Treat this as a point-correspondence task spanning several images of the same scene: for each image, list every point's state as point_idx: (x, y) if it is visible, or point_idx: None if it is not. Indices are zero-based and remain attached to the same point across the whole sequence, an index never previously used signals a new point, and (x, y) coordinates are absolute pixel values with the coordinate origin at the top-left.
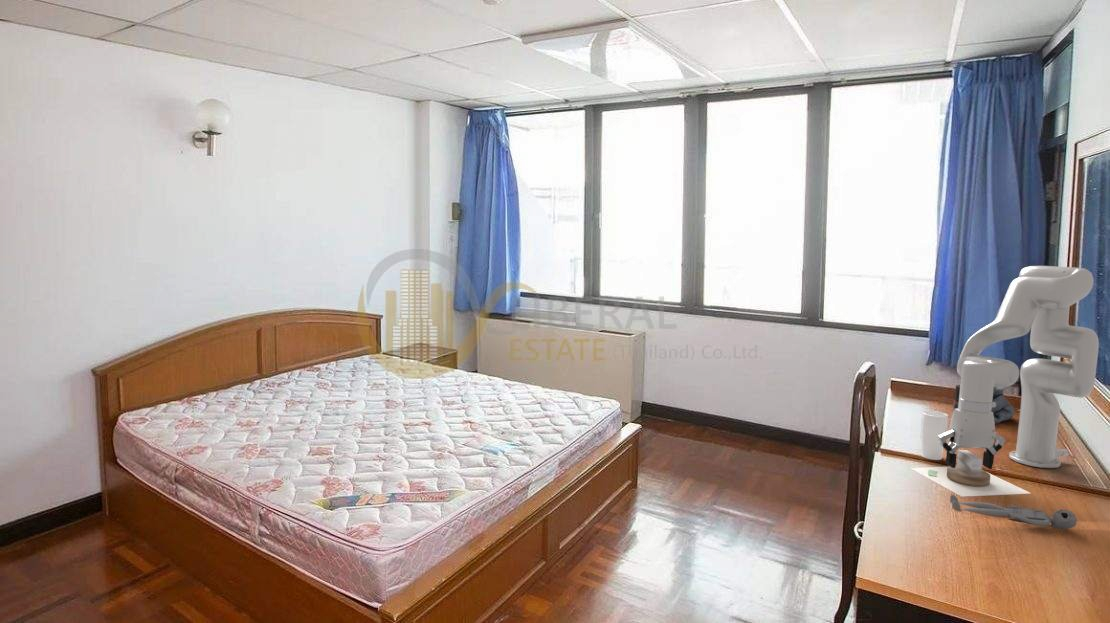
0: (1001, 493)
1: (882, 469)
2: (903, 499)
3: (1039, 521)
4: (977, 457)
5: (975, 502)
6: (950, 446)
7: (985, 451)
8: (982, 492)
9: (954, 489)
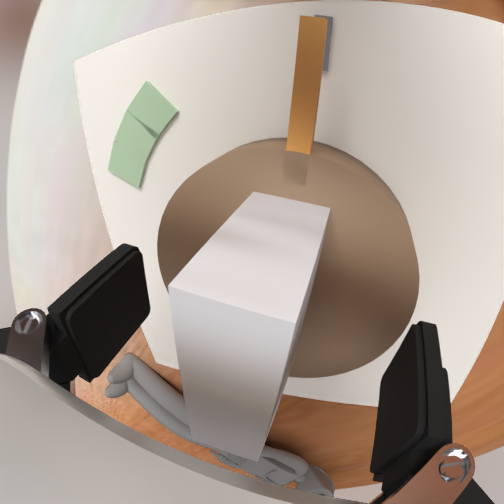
0: (324, 394)
1: (31, 41)
2: (44, 286)
3: (253, 475)
4: (243, 443)
5: (163, 406)
6: (31, 360)
7: (429, 441)
8: None
9: (156, 322)
